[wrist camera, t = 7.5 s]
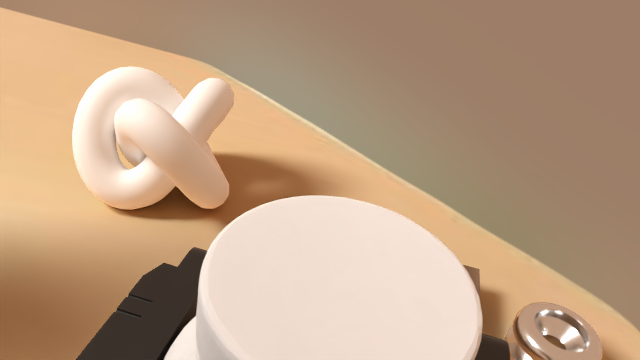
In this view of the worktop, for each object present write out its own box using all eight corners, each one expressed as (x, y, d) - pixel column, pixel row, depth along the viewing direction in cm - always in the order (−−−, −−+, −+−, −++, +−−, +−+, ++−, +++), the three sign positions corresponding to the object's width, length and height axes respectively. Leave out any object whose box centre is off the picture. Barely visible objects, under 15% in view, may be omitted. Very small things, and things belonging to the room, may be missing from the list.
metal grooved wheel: (509, 388, 30) (596, 406, 30) (528, 355, 28) (619, 374, 28) (496, 322, 34) (571, 338, 34) (511, 290, 33) (591, 306, 32)
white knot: (273, 213, 40) (286, 109, 36) (118, 263, 34) (107, 143, 29) (206, 145, 47) (209, 50, 43) (66, 175, 41) (50, 67, 36)
